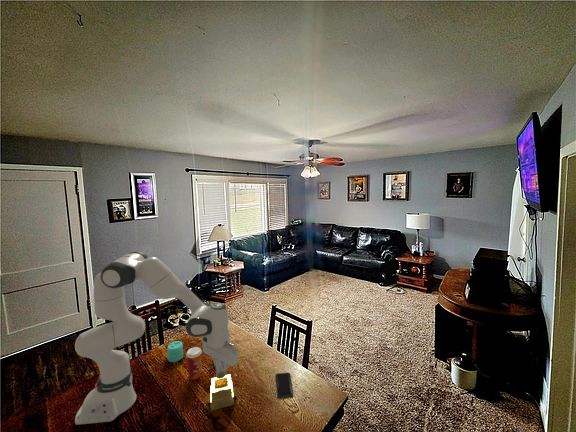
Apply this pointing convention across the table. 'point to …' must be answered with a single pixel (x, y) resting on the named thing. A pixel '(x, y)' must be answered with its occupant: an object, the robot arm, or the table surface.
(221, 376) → the silver metal cylinder
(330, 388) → the table surface
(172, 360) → the turquoise rounded container
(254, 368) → the table surface
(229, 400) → the valve body
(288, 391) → the phone
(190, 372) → the paper cup
